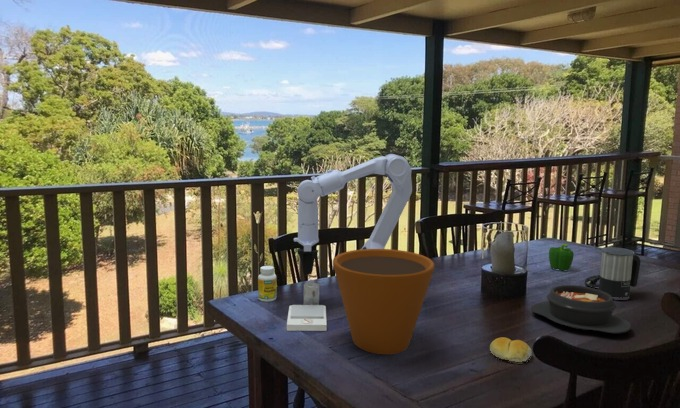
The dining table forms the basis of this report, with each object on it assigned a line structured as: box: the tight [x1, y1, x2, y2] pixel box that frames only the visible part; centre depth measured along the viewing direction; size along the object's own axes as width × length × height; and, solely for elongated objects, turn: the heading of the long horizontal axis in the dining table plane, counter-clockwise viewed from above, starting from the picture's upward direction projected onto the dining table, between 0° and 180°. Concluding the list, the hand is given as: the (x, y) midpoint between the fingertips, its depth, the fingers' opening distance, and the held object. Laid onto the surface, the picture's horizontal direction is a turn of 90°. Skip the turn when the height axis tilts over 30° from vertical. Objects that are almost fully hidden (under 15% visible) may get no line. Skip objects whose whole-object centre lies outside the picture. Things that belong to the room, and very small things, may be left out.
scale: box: [286, 304, 328, 332], centre depth 139 cm, size 10×14×2 cm
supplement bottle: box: [257, 265, 278, 303], centre depth 155 cm, size 5×5×10 cm
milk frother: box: [584, 246, 641, 298], centre depth 168 cm, size 14×16×15 cm
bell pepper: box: [548, 243, 574, 271], centre depth 193 cm, size 8×8×10 cm
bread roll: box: [489, 336, 533, 362], centre depth 121 cm, size 8×9×4 cm
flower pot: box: [332, 248, 435, 355], centre depth 126 cm, size 24×24×20 cm
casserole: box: [530, 284, 632, 335], centre depth 141 cm, size 25×19×8 cm
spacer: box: [303, 282, 320, 305], centre depth 151 cm, size 4×4×6 cm
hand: (308, 270), depth 150 cm, fingers open, 7 cm apart
